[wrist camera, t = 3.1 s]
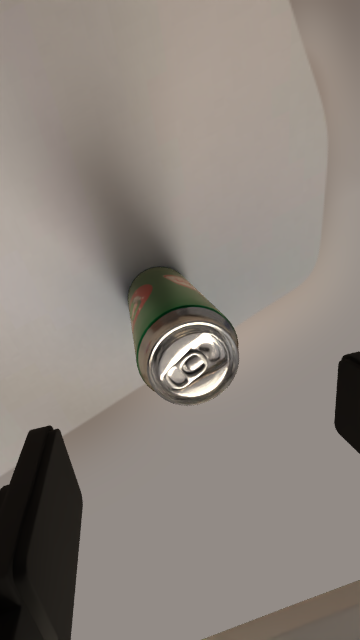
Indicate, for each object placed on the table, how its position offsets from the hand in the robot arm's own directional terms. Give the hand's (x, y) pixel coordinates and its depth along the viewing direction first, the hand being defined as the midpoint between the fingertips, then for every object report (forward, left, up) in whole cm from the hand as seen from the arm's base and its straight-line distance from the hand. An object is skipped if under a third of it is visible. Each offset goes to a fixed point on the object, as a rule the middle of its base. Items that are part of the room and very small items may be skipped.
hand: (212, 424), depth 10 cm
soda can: (0, 0, -16) cm, 16 cm away
